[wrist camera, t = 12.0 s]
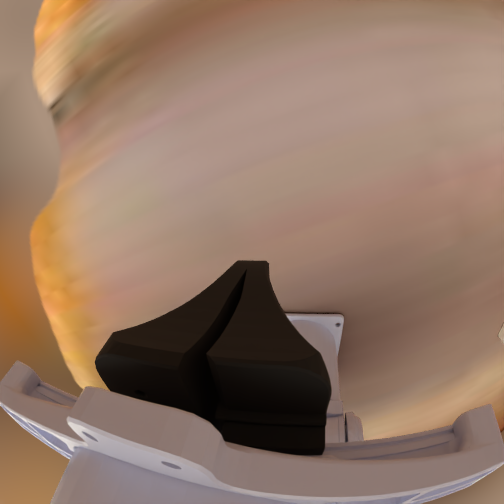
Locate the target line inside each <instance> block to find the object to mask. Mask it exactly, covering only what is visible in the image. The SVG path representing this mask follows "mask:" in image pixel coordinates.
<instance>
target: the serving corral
mask: <svg viewBox="0 0 504 504" xmlns="http://www.w3.org/2000/svg"><path fill="white" fill-rule="evenodd" d="M498 336H499V338H500V339H501V341H502V342H503V344H504V324H503V326H502V328H501V330H500V332H499V334H498Z"/></svg>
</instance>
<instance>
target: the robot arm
mask: <svg viewBox="0 0 504 504" xmlns="http://www.w3.org/2000/svg"><path fill="white" fill-rule="evenodd" d="M336 323H340V324H338V325H337V324H336ZM343 323H344V317H343V315H341V314H287V313H284V311H283V309H282V308H281V306H280V304H279V302H278V300H277V298H276V295H275V293H274V291H273V288H272V285H271V282H270V278H269V263H268V262H267V261H237V262H236V263H234V264H233V265H232V266H231V267H230V268H229V269H228V270H227V271H226V272H225V273H224V274H223V275H222V276H220V277H219V278H218V279H217V280H216V281H215V282H214V283H212V284H211V285H210V286H209V287H207V288H206V289H205V290H204V291H202V292H201V293H200V294H198V295H197V296H196V297H194V298H193V299H191V300H190V301H188V302H187V303H185V304H183V305H182V306H180V307H178V308H176V309H174V310H172V311H170V312H168V313H167V314H165V315H163V316H160V317H158V318H156V319H154V320H151V321H149V322H146V323H143V324H141V325H138V326H135V327H131V328H128V329H124V330H121V331H117V332H113V333H112V335H111V336H110V338H109V339H108V340H107V342H106V343H105V345H104V346H103V348H102V349H101V351H100V352H99V354H98V355H97V357H96V360H95V365H96V369H97V371H98V373H99V375H100V377H101V378H102V380H103V381H104V383H105V384H106V386H107V387H108V388H109V390H110V391H108V390H105V389H102V388H98V387H91V386H88V387H85V389H84V390H83V391H82V393H81V395H80V396H79V398H78V397H75V396H73V395H71V394H69V393H66V392H64V391H62V390H59V389H58V388H55V387H53V386H51V385H49V384H47V383H45V382H43V381H41V380H40V378H39V376H38V375H37V374H36V373H35V371H34V370H33V369H32V368H30V367H29V366H27V365H25V364H23V363H22V362H20V361H16V362H15V364H14V365H13V366H12V368H11V369H10V370H9V371H8V373H7V374H6V376H5V377H4V378H3V380H2V381H1V382H0V406H1V407H2V408H3V409H4V410H5V411H6V412H7V413H8V414H9V415H10V416H11V417H12V418H13V419H14V420H15V421H16V422H18V424H19V425H21V426H22V427H23V428H24V429H25V430H27V431H28V432H29V433H31V434H32V435H34V436H35V437H36V438H38V439H39V440H41V441H42V442H44V443H45V444H47V445H48V446H49V447H51V448H52V449H54V450H56V451H57V452H59V453H60V454H62V455H63V456H65V457H67V458H68V459H70V461H69V463H68V465H67V468H66V470H65V472H64V474H63V476H62V478H61V480H60V482H59V485H58V487H57V489H56V491H55V494H54V496H53V498H52V500H51V503H50V504H421V503H424V502H427V501H431V500H434V499H437V498H440V497H443V496H445V495H448V494H451V493H454V492H456V491H459V490H461V489H464V488H466V487H469V486H470V485H472V484H474V483H475V482H477V481H479V480H480V479H482V478H483V477H485V476H487V475H488V474H490V473H491V472H493V471H494V470H496V469H497V468H498V467H500V466H501V465H503V464H504V443H503V440H502V436H501V433H500V430H499V426H498V423H497V420H496V417H495V414H494V411H493V408H492V406H491V404H488V405H485V406H482V407H479V408H475V409H472V410H469V411H467V412H465V413H463V414H461V415H460V416H459V417H458V418H457V419H456V420H455V422H454V423H453V425H449V426H446V427H442V428H438V429H433V430H429V431H424V432H419V433H414V434H409V435H403V436H397V437H390V438H383V439H375V440H366V441H364V438H363V429H362V423H361V420H360V418H358V417H357V416H356V415H355V414H354V413H353V412H348V413H345V425H344V416H343V401H341V400H340V386H339V374H338V363H337V357H338V352H339V347H340V341H341V335H342V330H343Z"/></svg>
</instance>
